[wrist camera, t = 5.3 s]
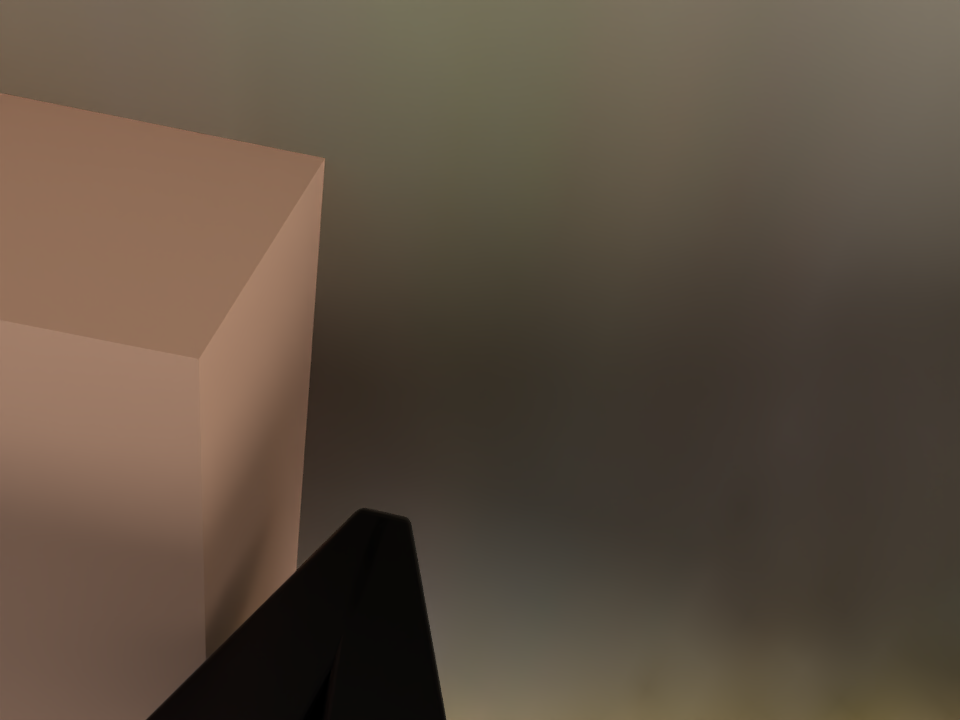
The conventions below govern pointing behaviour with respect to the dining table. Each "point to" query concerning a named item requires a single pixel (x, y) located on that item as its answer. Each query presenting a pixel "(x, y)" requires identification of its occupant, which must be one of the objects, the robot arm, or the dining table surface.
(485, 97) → the dining table surface
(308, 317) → the terracotta block
